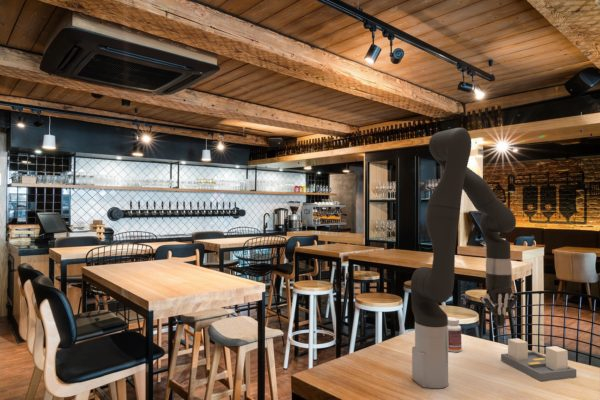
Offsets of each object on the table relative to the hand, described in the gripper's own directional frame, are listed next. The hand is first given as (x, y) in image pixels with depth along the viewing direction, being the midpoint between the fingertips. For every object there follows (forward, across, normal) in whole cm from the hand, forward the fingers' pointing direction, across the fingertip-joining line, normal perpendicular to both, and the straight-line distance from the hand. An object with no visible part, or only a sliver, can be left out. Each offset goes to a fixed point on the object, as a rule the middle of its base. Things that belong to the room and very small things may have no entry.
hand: (499, 325), depth 127 cm
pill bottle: (+13, -6, +16) cm, 22 cm away
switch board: (+13, +10, -4) cm, 17 cm away
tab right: (+12, +13, -9) cm, 19 cm away
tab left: (+12, +7, 0) cm, 13 cm away
